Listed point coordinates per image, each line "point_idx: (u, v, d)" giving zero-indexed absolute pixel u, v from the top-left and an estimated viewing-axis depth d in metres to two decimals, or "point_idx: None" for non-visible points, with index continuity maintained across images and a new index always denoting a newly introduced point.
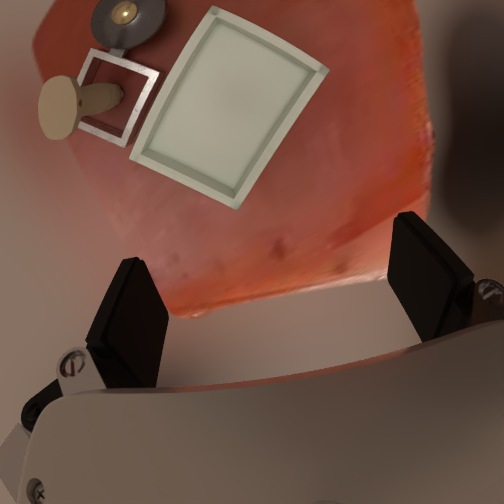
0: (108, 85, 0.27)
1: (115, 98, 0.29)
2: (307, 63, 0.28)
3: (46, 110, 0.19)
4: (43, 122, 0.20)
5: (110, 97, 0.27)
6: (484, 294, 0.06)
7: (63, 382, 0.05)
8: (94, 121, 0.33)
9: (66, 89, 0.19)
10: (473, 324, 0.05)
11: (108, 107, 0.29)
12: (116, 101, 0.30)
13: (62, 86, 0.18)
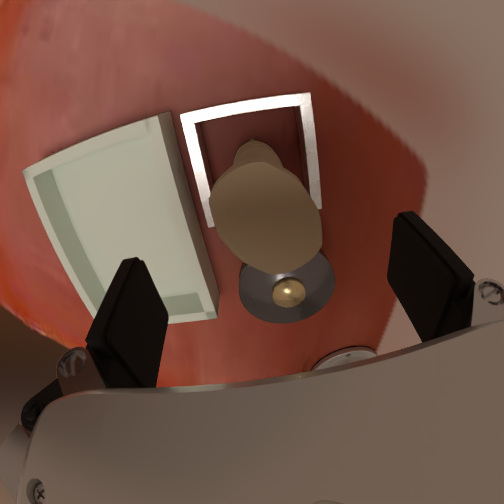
0: None
1: None
2: None
3: (291, 208, 0.14)
4: (286, 184, 0.13)
5: None
6: (484, 294, 0.06)
7: (63, 382, 0.05)
8: None
9: (266, 258, 0.15)
10: (473, 324, 0.05)
11: None
12: None
13: (277, 259, 0.15)
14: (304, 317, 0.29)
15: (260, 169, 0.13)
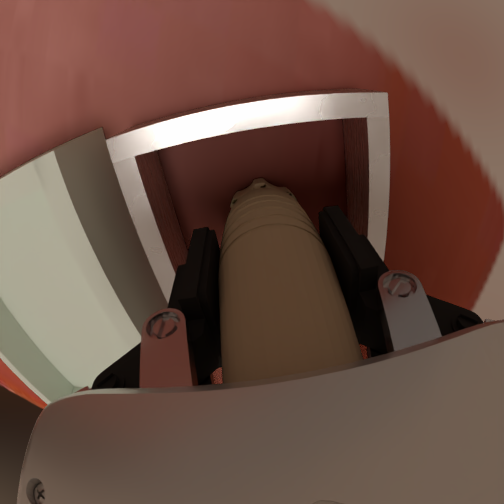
0: None
1: None
2: None
3: None
4: None
5: None
6: (391, 289, 0.07)
7: (155, 344, 0.06)
8: None
9: None
10: (391, 327, 0.06)
11: None
12: None
13: None
14: None
15: None
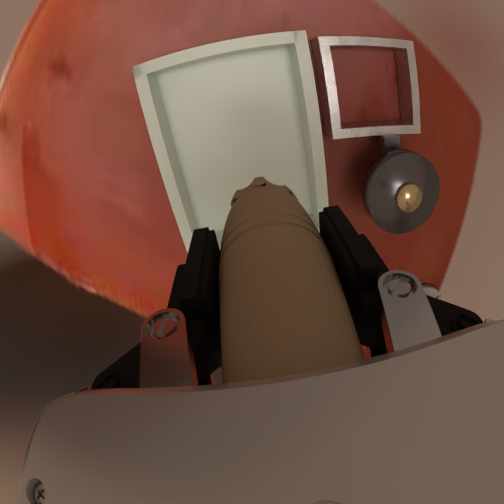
0: None
1: None
2: None
3: None
4: None
5: None
6: (391, 289, 0.07)
7: (155, 344, 0.06)
8: (371, 47, 0.23)
9: None
10: (391, 327, 0.06)
11: None
12: None
13: None
14: (413, 227, 0.28)
15: None
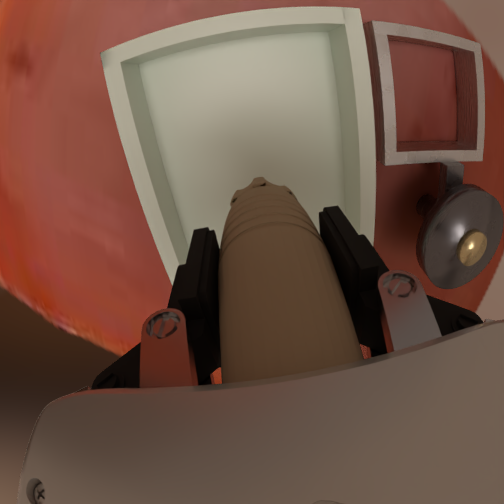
0: None
1: None
2: None
3: None
4: None
5: None
6: (391, 289, 0.07)
7: (155, 344, 0.06)
8: (431, 45, 0.15)
9: None
10: (391, 327, 0.06)
11: (220, 256, 0.10)
12: None
13: None
14: (468, 280, 0.20)
15: None
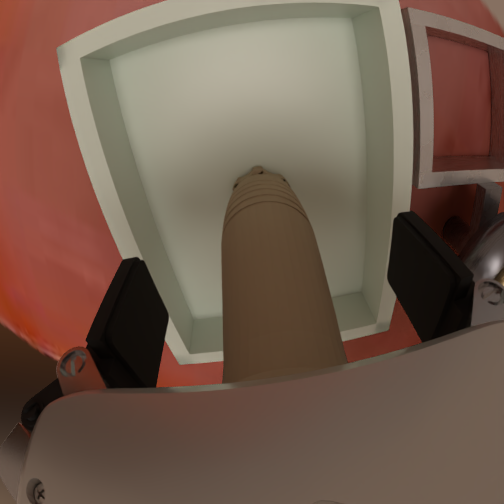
0: None
1: None
2: (209, 353, 0.20)
3: None
4: None
5: None
6: (484, 294, 0.06)
7: (63, 382, 0.05)
8: (467, 43, 0.11)
9: None
10: (473, 324, 0.05)
11: None
12: None
13: None
14: None
15: None
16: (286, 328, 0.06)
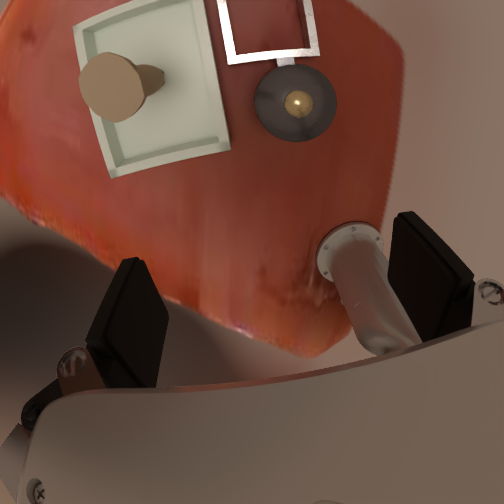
0: None
1: None
2: (126, 166, 0.33)
3: (121, 75, 0.17)
4: (117, 61, 0.17)
5: None
6: (484, 294, 0.06)
7: (63, 382, 0.05)
8: None
9: (110, 111, 0.19)
10: (473, 324, 0.05)
11: None
12: None
13: (117, 110, 0.19)
14: (312, 136, 0.30)
15: (103, 56, 0.16)
16: None
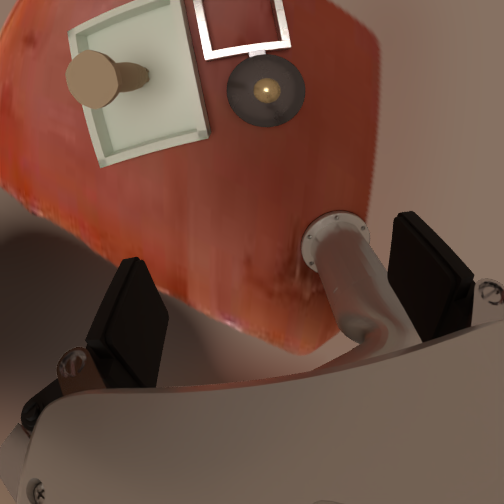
0: None
1: None
2: (114, 156, 0.35)
3: (99, 68, 0.19)
4: (97, 57, 0.18)
5: None
6: (484, 294, 0.06)
7: (63, 382, 0.05)
8: None
9: (91, 99, 0.21)
10: (473, 324, 0.05)
11: None
12: None
13: (96, 98, 0.21)
14: (283, 121, 0.31)
15: (85, 53, 0.18)
16: None
